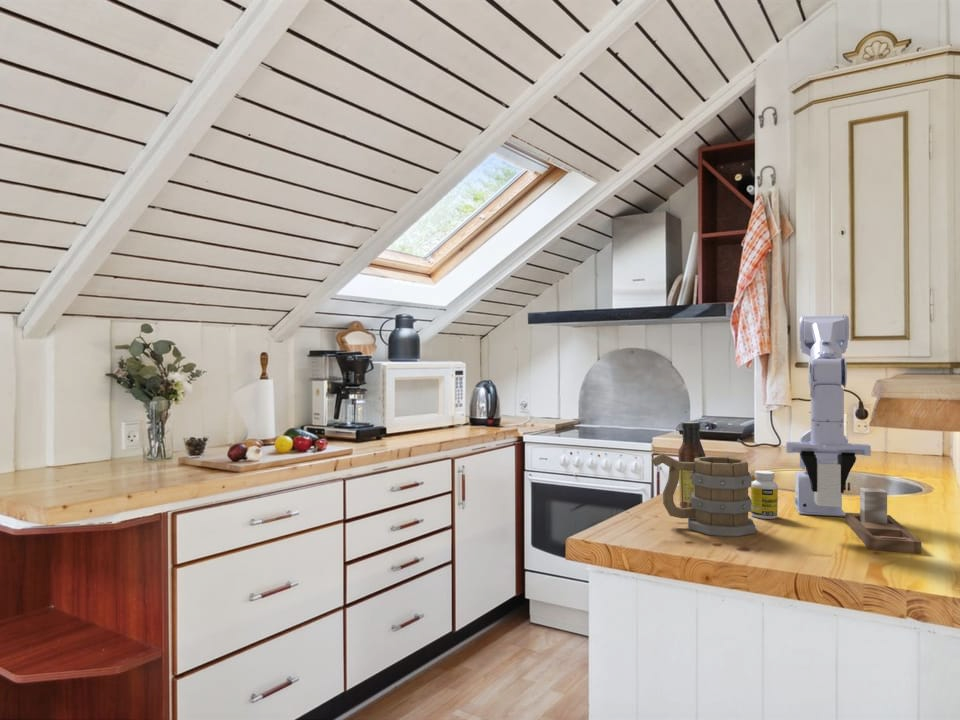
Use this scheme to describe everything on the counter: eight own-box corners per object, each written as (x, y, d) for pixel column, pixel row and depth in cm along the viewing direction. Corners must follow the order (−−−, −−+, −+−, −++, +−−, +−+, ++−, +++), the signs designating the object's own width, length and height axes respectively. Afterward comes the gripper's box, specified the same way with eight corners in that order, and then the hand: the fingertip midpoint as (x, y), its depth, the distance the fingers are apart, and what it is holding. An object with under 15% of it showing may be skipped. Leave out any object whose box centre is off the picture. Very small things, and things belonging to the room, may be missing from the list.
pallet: (869, 549, 127) (869, 505, 127) (845, 522, 148) (845, 484, 148) (921, 553, 124) (921, 508, 124) (889, 524, 145) (889, 486, 145)
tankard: (750, 523, 147) (750, 451, 147) (757, 538, 135) (757, 460, 135) (652, 517, 152) (652, 448, 152) (650, 531, 140) (650, 456, 140)
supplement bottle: (761, 520, 150) (761, 474, 149) (745, 514, 155) (745, 470, 155) (783, 518, 151) (783, 473, 151) (766, 513, 156) (766, 469, 156)
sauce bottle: (713, 510, 159) (713, 422, 159) (690, 512, 157) (690, 423, 157) (694, 504, 165) (694, 420, 165) (672, 506, 163) (672, 421, 163)
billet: (817, 505, 133) (817, 463, 133) (814, 501, 137) (814, 460, 137) (840, 506, 132) (840, 464, 132) (836, 502, 136) (836, 461, 136)
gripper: (788, 421, 133) (788, 493, 133) (874, 423, 128) (874, 497, 129) (784, 418, 140) (784, 486, 140) (865, 420, 135) (865, 490, 135)
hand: (827, 491), depth 135 cm, fingers closed on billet, 4 cm apart
